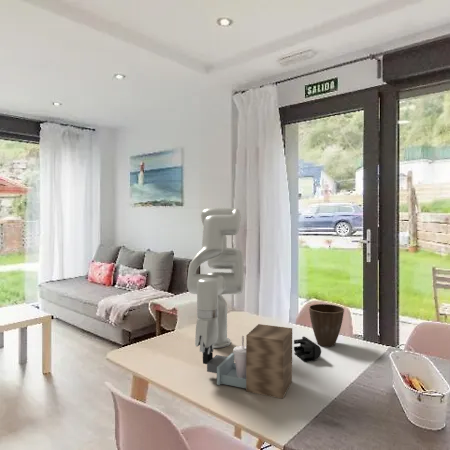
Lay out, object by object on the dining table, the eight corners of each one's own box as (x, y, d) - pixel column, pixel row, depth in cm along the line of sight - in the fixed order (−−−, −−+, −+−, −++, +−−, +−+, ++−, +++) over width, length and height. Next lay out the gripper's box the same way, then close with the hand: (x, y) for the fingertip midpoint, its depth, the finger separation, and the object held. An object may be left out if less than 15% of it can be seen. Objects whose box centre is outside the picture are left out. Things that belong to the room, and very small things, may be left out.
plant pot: (304, 338, 173) (304, 304, 172) (335, 337, 174) (336, 303, 174) (315, 350, 158) (315, 313, 157) (349, 349, 160) (349, 312, 159)
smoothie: (253, 373, 133) (253, 334, 132) (248, 381, 127) (248, 340, 126) (236, 371, 135) (236, 332, 134) (230, 378, 129) (230, 338, 128)
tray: (203, 382, 129) (203, 364, 128) (219, 366, 141) (219, 350, 141) (252, 391, 122) (252, 373, 122) (264, 374, 134) (264, 358, 134)
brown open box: (246, 391, 123) (246, 335, 122) (258, 375, 135) (258, 324, 134) (282, 398, 118) (283, 340, 118) (292, 381, 130) (292, 328, 130)
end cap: (321, 360, 148) (321, 344, 148) (305, 363, 146) (305, 345, 146) (308, 351, 157) (308, 335, 157) (293, 353, 155) (293, 337, 155)
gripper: (207, 307, 143) (207, 354, 144) (188, 317, 129) (188, 369, 130) (225, 309, 140) (225, 357, 141) (207, 320, 126) (208, 373, 127)
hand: (207, 363), depth 135 cm, fingers closed
